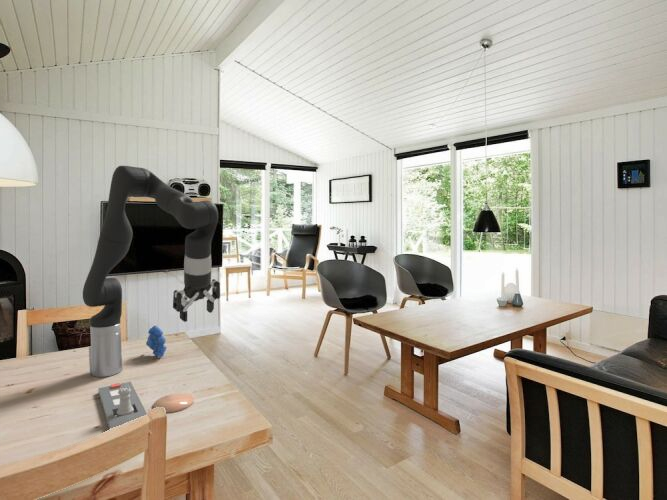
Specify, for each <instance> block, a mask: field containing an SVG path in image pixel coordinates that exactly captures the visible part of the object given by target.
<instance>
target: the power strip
mask: <svg viewBox="0 0 667 500" xmlns="http://www.w3.org/2000/svg"><path fill="white" fill-rule="evenodd" d="M124 386H126V387H127V386H129V387H130V389H131V392H130V395H131V396H130V403H131V405H132V407H133V408H134V413H132V414H128V415H124V416H120V417H115V415H117V413H116V412H117V410H118V408H119V405H120V399H119V397H120V395H119V394H118V391H119V388H121V387H123V388H125V387H124ZM97 390H98V395H99V399H100V402H101V406H102V410H103V413H104V417H105V421H106V423H107V428H108V429H110V428H113V427H116V426H119V425H122V424H124V423H126V422H129V421H131V420H134V419H136V418H139V417H141V416H144V415H146V414H147V415H148V413H147V410H146V409H145V407H144V405H143V403H142V402H141V399H140V397H139V395H138V393H137V391H136V389H135V387H134V386H133V383H132V382H131V381H125V382H121V383H113V384H110V385H108V386H102V387H98V389H97Z"/></svg>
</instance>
